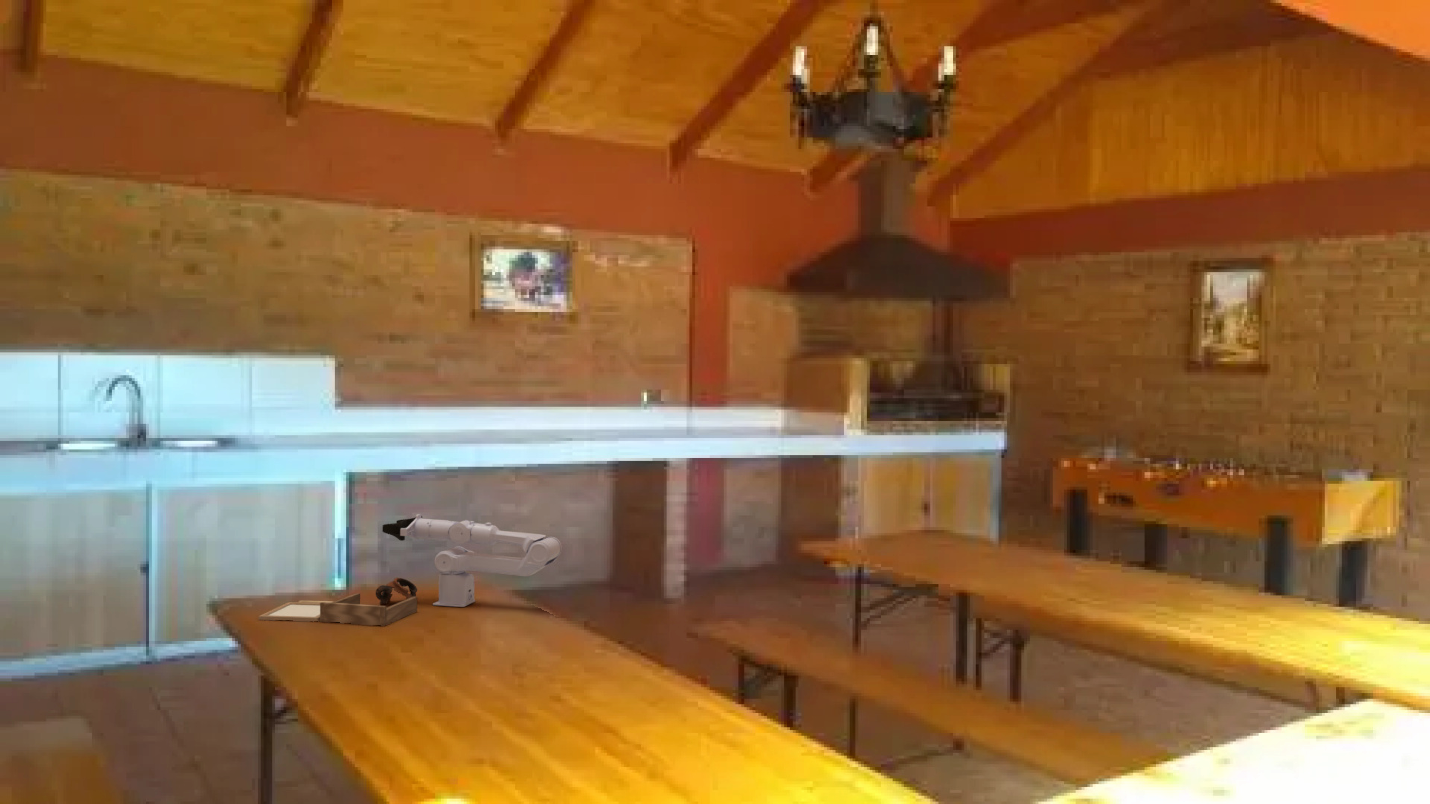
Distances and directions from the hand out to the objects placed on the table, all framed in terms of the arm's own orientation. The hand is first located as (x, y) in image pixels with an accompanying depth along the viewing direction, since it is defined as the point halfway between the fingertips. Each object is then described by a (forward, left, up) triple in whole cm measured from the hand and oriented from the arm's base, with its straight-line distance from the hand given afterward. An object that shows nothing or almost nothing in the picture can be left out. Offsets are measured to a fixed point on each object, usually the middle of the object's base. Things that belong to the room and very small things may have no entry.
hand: (390, 526), depth 321 cm
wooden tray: (-5, +20, -21) cm, 30 cm away
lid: (+14, +21, -21) cm, 33 cm away
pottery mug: (-4, +5, -21) cm, 23 cm away
